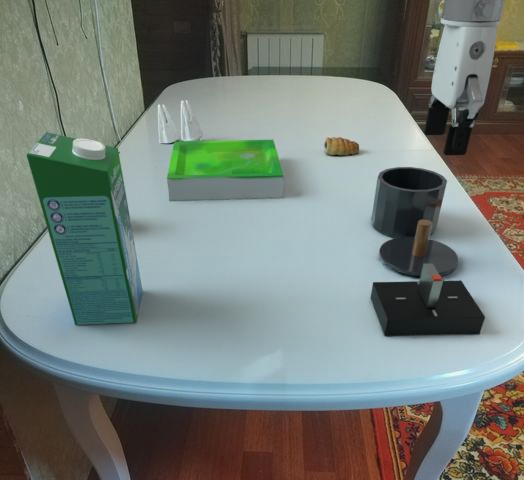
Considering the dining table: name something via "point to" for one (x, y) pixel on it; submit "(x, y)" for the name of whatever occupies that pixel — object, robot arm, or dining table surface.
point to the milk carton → (88, 227)
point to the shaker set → (188, 125)
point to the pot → (407, 200)
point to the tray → (225, 170)
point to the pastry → (340, 146)
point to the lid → (418, 252)
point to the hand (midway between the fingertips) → (443, 144)
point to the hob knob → (430, 285)
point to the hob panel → (425, 310)
